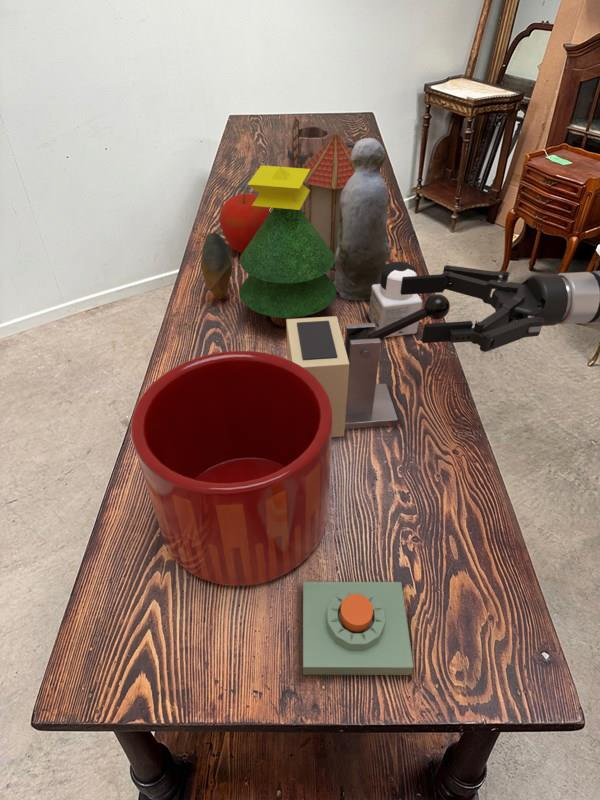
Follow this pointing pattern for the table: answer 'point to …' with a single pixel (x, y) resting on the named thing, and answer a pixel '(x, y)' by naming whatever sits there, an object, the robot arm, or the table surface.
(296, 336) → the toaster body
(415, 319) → the toaster lever
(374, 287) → the container
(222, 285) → the decorative stone
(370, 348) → the metal lever stand
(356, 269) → the sculpture
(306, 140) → the tankard
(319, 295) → the decorative tree
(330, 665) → the control block
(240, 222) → the apple
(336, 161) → the miniature windmill
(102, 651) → the table surface
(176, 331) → the table surface
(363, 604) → the button
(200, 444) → the planter
